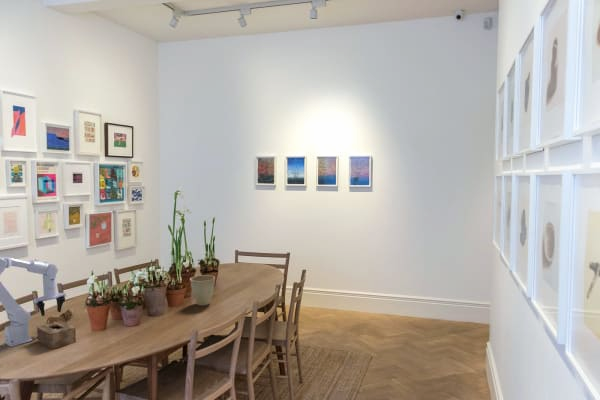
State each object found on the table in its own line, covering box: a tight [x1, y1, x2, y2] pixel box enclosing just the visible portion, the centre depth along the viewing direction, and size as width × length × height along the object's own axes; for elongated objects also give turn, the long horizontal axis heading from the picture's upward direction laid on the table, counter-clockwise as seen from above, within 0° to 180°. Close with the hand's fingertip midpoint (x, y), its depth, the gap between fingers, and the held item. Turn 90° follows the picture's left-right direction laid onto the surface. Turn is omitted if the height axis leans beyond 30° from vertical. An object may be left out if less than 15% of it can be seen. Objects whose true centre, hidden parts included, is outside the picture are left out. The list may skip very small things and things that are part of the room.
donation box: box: [36, 321, 77, 350], centre depth 211 cm, size 11×16×7 cm
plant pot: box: [189, 274, 216, 306], centre depth 268 cm, size 15×15×16 cm
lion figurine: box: [45, 308, 75, 325], centre depth 231 cm, size 15×5×9 cm, turn 120°
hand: (51, 313), depth 224 cm, fingers open, 7 cm apart
